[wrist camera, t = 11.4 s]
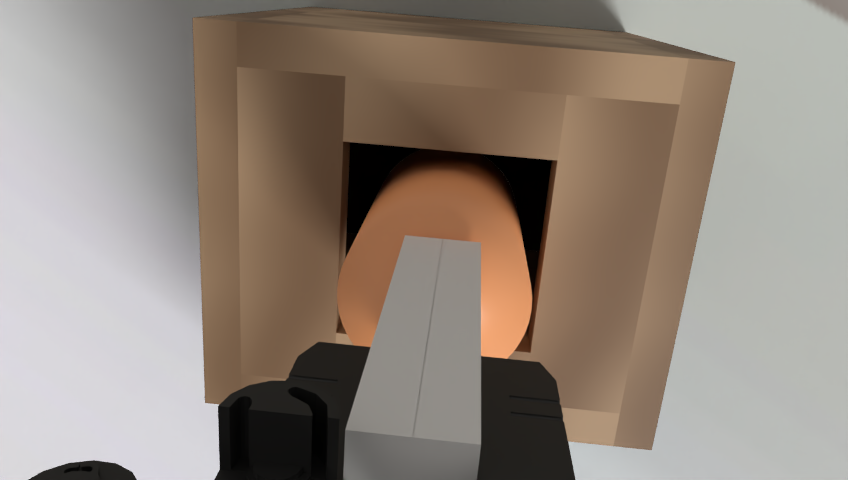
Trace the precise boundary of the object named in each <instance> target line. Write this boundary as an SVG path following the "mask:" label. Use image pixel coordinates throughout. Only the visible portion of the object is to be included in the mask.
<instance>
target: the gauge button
mask: <svg viewBox="0 0 848 480" xmlns="http://www.w3.org/2000/svg"><path fill="white" fill-rule="evenodd" d="M405 235H408V236H418V237H429V238H439V239H450V240H460V241H471V242H481V356H486V357H495V358H505V359H507V358H508V357H509V356H510V355H511V354H512V353H513V352H514V350H515V349H516V348H517V346H518V345H519V343H520V342H521V340H522V338H523V336H524V334H525V332H526V329H527V326H528V324H529V320H530V315H531V310H532V290H531V283H530V277H529V272H528V266H527V261H526V255H525V250H524V244H523V238H522V233H521V227H520V222H519V216H518V211H517V205H516V200H515V196H514V193H513V190H512V187H511V185H510V183H509V181H508V180H507V178H506V176H505V175H504V174H503V172H502V171H501V170H500V169H499V168H498V167H497V166H496V165H495V164H494V163H493V162H492V161H490V160H489V159H488V158H486V157H485V156H483V155H482V154H479V153H467V152H456V151H445V150H434V149H421V150H419V151H416V152H414V153H412V154H410V155H408V156H407V157H405V158H404V159H403V160H401V161H400V162H399V163H398V164H397V165H396V166H395V167H394V168H393V169H392V170H391V171H390V173H389V174H388V175H387V177H386V179H385V180H384V182H383V184H382V186H381V188H380V190H379V192H378V194H377V196H376V198H375V200H374V202H373V204H372V206H371V208H370V210H369V212H368V214H367V216H366V218H365V220H364V222H363V224H362V226H361V228H360V230H359V232H358V234H357V236H356V238H355V240H354V242H353V244H352V246H351V248H350V250H349V252H348V254H347V256H346V258H345V261H344V263H343V266H342V268H341V271H340V275H339V279H338V287H337V304H338V309H339V315H340V318H341V321H342V324H343V327H344V329H345V331H346V333H347V335H348V337H349V339H350V340H351V342H352V343H353V345H356V346H366V347H371V344H372V341H373V338H374V335H375V331H376V328H377V325H378V322H379V318H380V315H381V312H382V309H383V305H384V302H385V299H386V296H387V292H388V289H389V286H390V283H391V279H392V276H393V273H394V270H395V266H396V263H397V260H398V257H399V253H400V250H401V247H402V244H403V240H404V237H405Z"/></svg>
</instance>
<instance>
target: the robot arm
mask: <svg viewBox="0 0 848 480" xmlns="http://www.w3.org/2000/svg"><path fill="white" fill-rule="evenodd" d="M218 418H219V454H220V470H219V472H218V474H217V476H216V478H215V480H575V476H574V470H573V465H572V460H571V455H570V450H569V444H568V439H567V434H566V429H565V424H564V422H563V413H562V408H561V405H560V398H559V393H558V387H557V382H556V380H555V379H554V378H553V376H552V375H551V374H550V373H549V372H548V371H547V370H546V369H545V367H544V366H543V365H542V364H541V363H540V362H534V361H524V360H515V359H505V358H495V357H486V356H481V242H471V241H460V240H450V239H439V238H429V237H418V236H408V235H405V237H404V240H403V244H402V247H401V250H400V253H399V257H398V260H397V263H396V266H395V270H394V273H393V276H392V279H391V283H390V286H389V289H388V292H387V296H386V299H385V302H384V305H383V309H382V312H381V315H380V318H379V322H378V325H377V328H376V331H375V335H374V338H373V341H372V344H371V347H366V346H356V345H346V344H337V343H327V342H317V343H316V344H315V345H313V346H312V347H310V348H309V349H307V350H306V351H305V352H303V353H302V354H300V355H299V356H298V357H297V359H296V361H295V363H294V365H293V367H292V369H291V371H290V373H289V377H288V378H287V379H286V381H267V382H262V383H257V384H252V385H248V386H246V387H244V388H242V389H240V390H238V391H236V392H234V393H231V394H230V395H229V396H228V397H227V398H226V399H225V400H224V401H223V402H222V403H221V404H220V405H219V406H218ZM29 480H136V478H135V476H134V474H133V473H132V472H131V471H129V470H127V469H125V468H123V467H122V466H120V465H118V464H115V463H108V462H101V461H84V462H75V463H68V464H64V465H61V466H58V467H55V468H52V469H49V470H46V471H43V472H41V473H39V474H38V475H36V476H34V477H32V478H31V479H29Z"/></svg>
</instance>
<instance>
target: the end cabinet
mask: <svg viewBox="0 0 848 480" xmlns="http://www.w3.org/2000/svg"><path fill="white" fill-rule="evenodd" d="M193 48H194V78H195V108H196V139H197V169H198V199H199V229H200V259H201V290H202V320H203V350H204V380H205V403H212V404H221V403H222V402H223V401H224V400H225V399H226V398H227V397H228V396H229V395H230V394H231V393H234V392H236V391H238V390H240V389H242V388H244V387H246V386H248V385H252V384H257V383H262V382H267V381H286V379H287V378H288V377H289V373H290V371H291V369H292V367H293V365H294V363H295V361H296V359H297V357H298V356H299V355H300V354H302V353H303V352H305V351H306V350H307V349H309V348H310V347H312V346H313V345H315V344H316V343H317V342H327V343H337V344H346V345H353V343H352V342H351V340H350V339H349V337H348V335H347V333H346V331H345V329H344V327H343V324H342V321H341V318H340V315H339V309H338V304H337V287H338V279H339V275H340V271H341V268H342V266H343V263H344V261H345V258H346V256H347V254H348V252H349V250H350V248H351V246H352V244H353V242H354V240H355V238H356V236H357V234H356V233H346V229H347V204H348V179H349V154H350V142H355V143H366V144H378V145H389V146H400V147H411V148H422V149H434V150H445V151H456V152H467V153H479V154H490V155H501V156H512V157H524V158H535V159H546V160H552V164H551V172H550V179H549V186H548V193H547V201H546V208H545V215H544V222H543V230H542V237H541V244H540V251H536V250H525V249H524V250H525V255H526V261H527V266H528V272H529V277H530V283H531V290H532V310H531V315H530V320H529V324H528V326H527V329H526V332H525V334H524V336H523V338H522V340H521V342H520V343H519V345H518V346H517V348H516V349H515V350H514V352H513V353H512V354H511V355H510V356H509V357H508V358H507V359H515V360H524V361H534V362H540V363H541V364H542V365H543V366H544V367H545V369H546V370H547V371H548V372H549V373H550V374H551V375H552V376H553V378H554V379H555V380H556V382H557V387H558V393H559V398H560V405H561V408H562V413H563V422H564V424H565V429H566V434H567V439H568V441H571V442H580V443H589V444H599V445H608V446H618V447H627V448H637V449H646V450H652V446H653V441H654V437H655V432H656V427H657V423H658V418H659V413H660V409H661V404H662V400H663V395H664V390H665V386H666V381H667V376H668V372H669V367H670V363H671V358H672V353H673V349H674V344H675V339H676V335H677V330H678V326H679V321H680V316H681V312H682V307H683V302H684V298H685V293H686V288H687V284H688V279H689V275H690V270H691V265H692V261H693V256H694V251H695V247H696V242H697V238H698V233H699V228H700V224H701V219H702V214H703V210H704V205H705V201H706V196H707V191H708V187H709V182H710V177H711V173H712V168H713V164H714V159H715V154H716V150H717V145H718V140H719V136H720V131H721V127H722V122H723V117H724V113H725V108H726V103H727V99H728V94H729V90H730V85H731V80H732V76H733V71H734V66H735V62H733V61H729V60H725V59H722V58H718V57H714V56H711V55H707V54H703V53H700V52H696V51H692V50H689V49H685V48H681V47H678V46H674V45H670V44H667V43H663V42H660V41H656V40H652V39H649V38H645V37H641V36H638V35H634V34H630V33H627V32H615V31H602V30H590V29H578V28H565V27H553V26H541V25H528V24H516V23H504V22H491V21H479V20H467V19H454V18H442V17H430V16H417V15H405V14H393V13H380V12H368V11H356V10H343V9H331V8H318V7H305V8H293V9H282V10H271V11H260V12H249V13H238V14H227V15H216V16H205V17H194V18H193Z"/></svg>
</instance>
